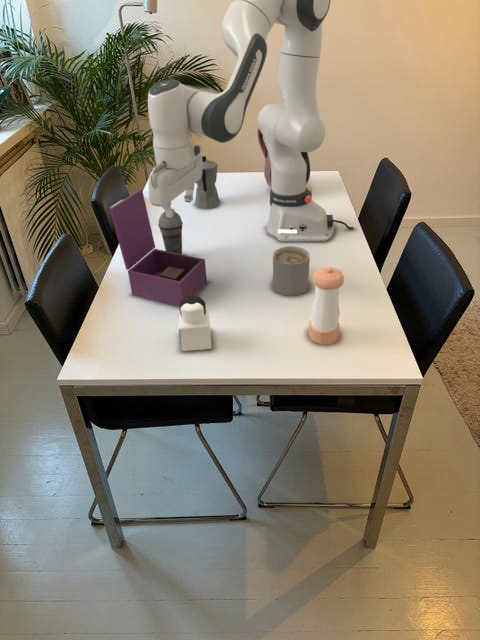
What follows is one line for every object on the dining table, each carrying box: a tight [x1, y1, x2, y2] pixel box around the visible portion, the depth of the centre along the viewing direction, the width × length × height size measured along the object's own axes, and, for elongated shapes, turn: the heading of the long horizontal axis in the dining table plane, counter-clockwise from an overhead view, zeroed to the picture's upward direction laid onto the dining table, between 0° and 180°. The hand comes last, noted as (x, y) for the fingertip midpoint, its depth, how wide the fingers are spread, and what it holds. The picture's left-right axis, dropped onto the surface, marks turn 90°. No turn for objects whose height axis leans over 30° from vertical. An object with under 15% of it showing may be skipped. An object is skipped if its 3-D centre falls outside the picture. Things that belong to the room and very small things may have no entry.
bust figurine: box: [178, 295, 212, 352], centre depth 119 cm, size 7×7×12 cm
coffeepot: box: [194, 155, 221, 210], centre depth 182 cm, size 15×9×18 cm, turn 1°
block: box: [160, 267, 185, 281], centre depth 140 cm, size 5×5×5 cm
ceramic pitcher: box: [257, 128, 311, 189], centre depth 189 cm, size 18×21×25 cm
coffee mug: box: [272, 245, 311, 297], centre depth 140 cm, size 13×10×10 cm
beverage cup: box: [157, 211, 184, 254], centre depth 151 cm, size 7×7×20 cm
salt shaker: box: [308, 266, 345, 345], centre depth 117 cm, size 7×7×19 cm
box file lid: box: [109, 188, 156, 271], centre depth 136 cm, size 18×14×5 cm
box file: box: [127, 248, 208, 307], centre depth 140 cm, size 17×14×8 cm
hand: (180, 208), depth 129 cm, fingers open, 8 cm apart
